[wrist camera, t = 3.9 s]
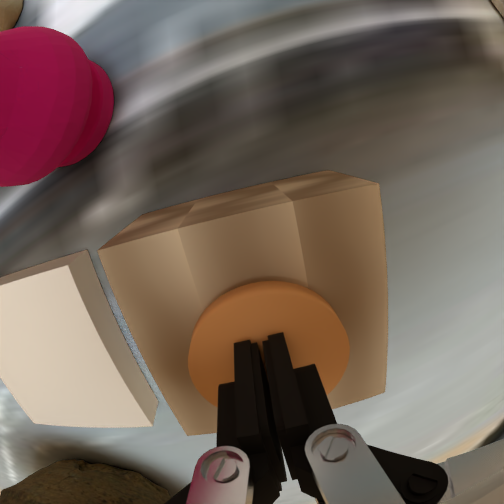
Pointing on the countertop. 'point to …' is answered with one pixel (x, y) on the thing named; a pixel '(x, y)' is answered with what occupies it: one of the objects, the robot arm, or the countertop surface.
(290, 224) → the stand
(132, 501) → the clay pot
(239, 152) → the countertop surface
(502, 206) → the countertop surface
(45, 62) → the pepper mill
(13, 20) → the chocolate bunny
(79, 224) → the countertop surface
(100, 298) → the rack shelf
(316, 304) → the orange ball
